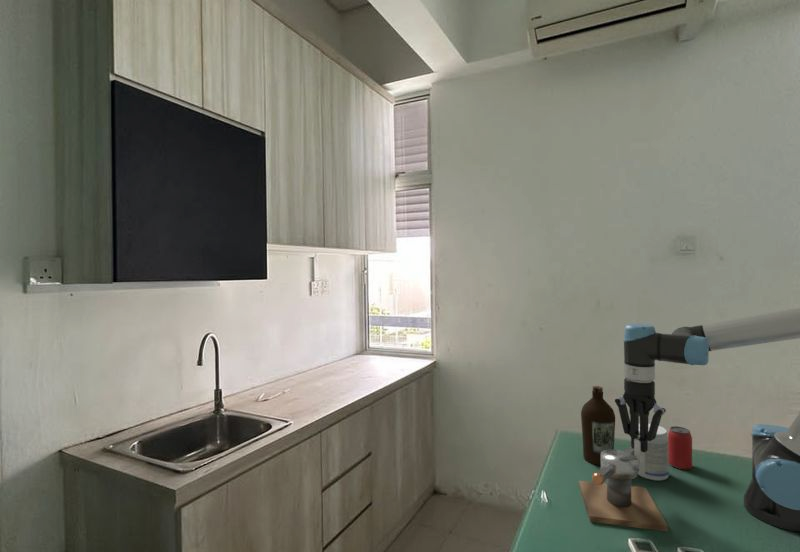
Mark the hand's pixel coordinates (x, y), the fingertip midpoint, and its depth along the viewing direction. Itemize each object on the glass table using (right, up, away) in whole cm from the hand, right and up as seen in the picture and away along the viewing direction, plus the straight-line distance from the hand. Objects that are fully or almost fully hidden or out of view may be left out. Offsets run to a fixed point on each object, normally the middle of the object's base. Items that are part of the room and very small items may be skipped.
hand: (639, 461), depth 117 cm
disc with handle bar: (-8, -1, -4) cm, 9 cm away
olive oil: (0, -11, +24) cm, 27 cm away
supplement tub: (+12, -11, +14) cm, 21 cm away
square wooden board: (-7, -11, -3) cm, 14 cm away
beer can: (+24, -10, +19) cm, 32 cm away
